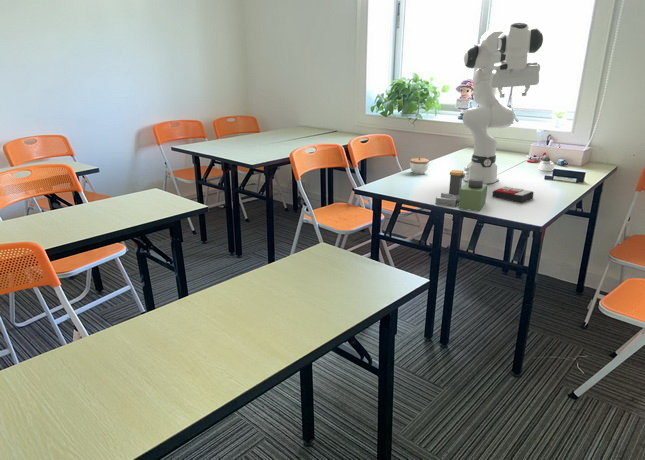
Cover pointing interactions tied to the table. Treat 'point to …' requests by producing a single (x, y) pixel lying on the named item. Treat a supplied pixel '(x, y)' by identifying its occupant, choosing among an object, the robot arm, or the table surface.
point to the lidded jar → (419, 165)
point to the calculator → (513, 194)
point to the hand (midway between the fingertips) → (512, 96)
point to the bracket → (448, 199)
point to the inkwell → (546, 164)
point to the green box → (473, 195)
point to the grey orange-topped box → (456, 181)
